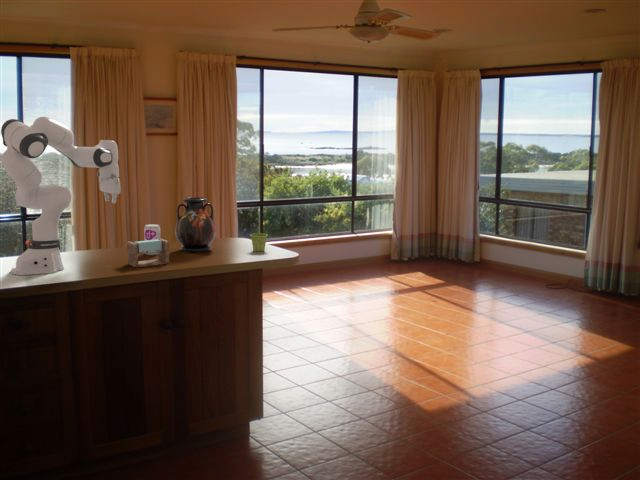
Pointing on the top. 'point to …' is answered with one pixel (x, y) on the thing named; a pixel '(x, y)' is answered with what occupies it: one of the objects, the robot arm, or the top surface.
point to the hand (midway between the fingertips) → (110, 202)
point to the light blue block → (149, 245)
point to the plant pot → (258, 241)
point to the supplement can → (152, 235)
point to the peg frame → (134, 261)
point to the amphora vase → (195, 226)
